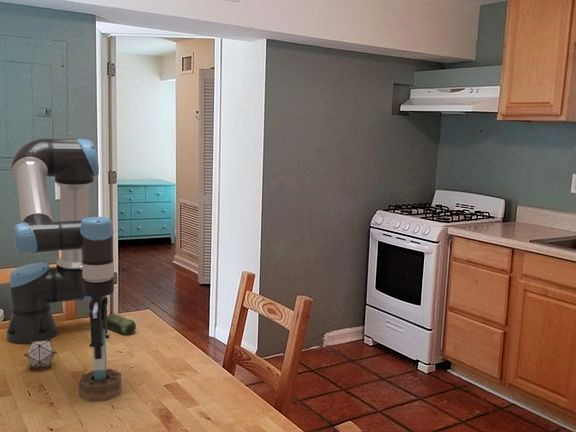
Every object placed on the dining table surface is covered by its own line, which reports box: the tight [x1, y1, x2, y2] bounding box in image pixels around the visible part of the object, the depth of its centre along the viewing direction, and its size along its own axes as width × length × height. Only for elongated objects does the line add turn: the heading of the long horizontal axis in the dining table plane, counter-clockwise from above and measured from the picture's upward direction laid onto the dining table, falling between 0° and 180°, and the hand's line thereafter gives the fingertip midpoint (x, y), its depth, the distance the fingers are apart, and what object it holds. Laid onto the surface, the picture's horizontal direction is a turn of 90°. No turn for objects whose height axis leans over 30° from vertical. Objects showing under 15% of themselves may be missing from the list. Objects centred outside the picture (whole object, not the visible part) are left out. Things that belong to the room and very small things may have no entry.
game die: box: [23, 338, 58, 371], centre depth 162 cm, size 9×8×10 cm
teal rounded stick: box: [93, 329, 107, 382], centre depth 147 cm, size 3×3×16 cm
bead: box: [78, 368, 122, 402], centre depth 148 cm, size 10×10×4 cm
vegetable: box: [107, 313, 137, 336], centre depth 193 cm, size 14×5×5 cm, turn 53°
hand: (100, 366), depth 147 cm, fingers closed on teal rounded stick, 3 cm apart
